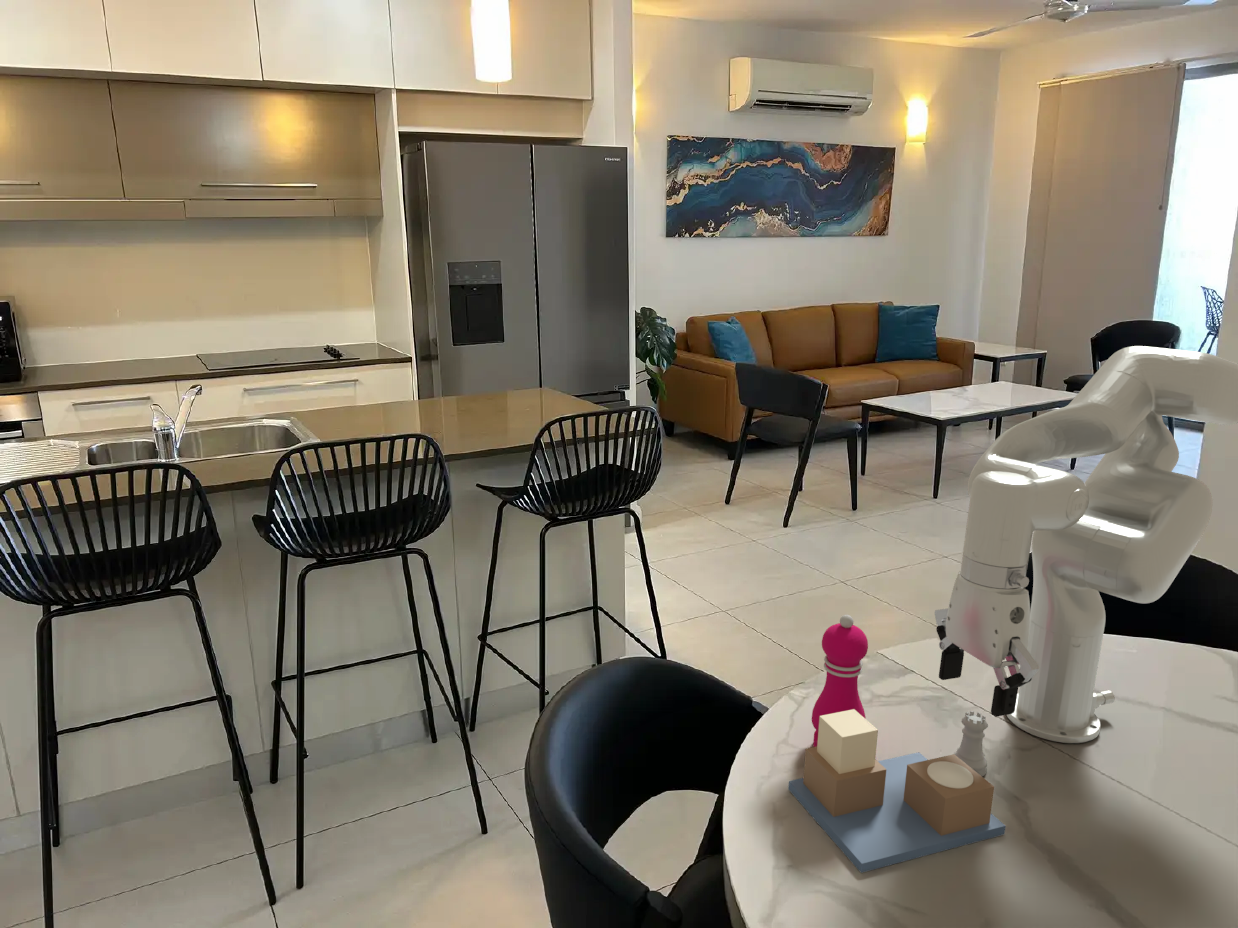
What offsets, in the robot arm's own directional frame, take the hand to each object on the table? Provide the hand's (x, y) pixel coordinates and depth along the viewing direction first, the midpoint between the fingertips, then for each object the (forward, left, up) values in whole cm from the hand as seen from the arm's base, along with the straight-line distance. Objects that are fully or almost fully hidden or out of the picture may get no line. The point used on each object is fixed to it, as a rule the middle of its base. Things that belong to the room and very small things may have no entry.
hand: (974, 695), depth 114 cm
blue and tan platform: (+14, +4, -11) cm, 19 cm away
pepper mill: (+13, -10, -12) cm, 20 cm away
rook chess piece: (-1, 0, -12) cm, 12 cm away
